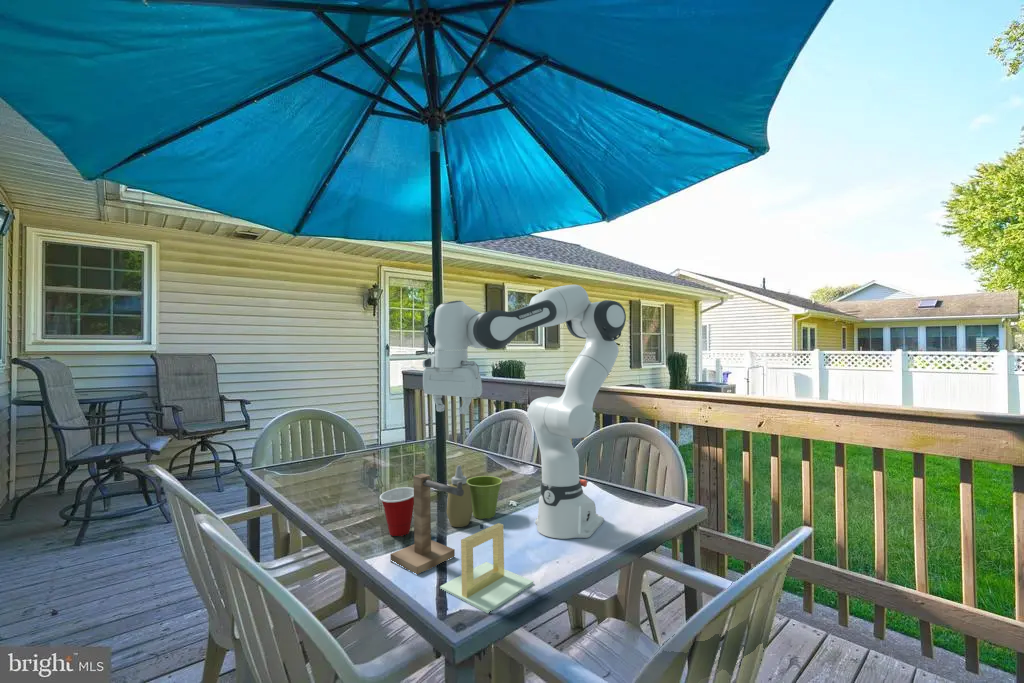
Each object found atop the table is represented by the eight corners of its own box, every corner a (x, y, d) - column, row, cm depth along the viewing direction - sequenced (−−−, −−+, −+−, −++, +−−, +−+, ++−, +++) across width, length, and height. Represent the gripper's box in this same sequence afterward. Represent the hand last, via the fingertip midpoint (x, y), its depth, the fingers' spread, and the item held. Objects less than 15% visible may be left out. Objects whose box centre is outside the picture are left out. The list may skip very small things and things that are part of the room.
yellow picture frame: (499, 573, 106) (498, 522, 106) (504, 576, 105) (503, 524, 105) (461, 595, 97) (461, 539, 97) (467, 598, 96) (466, 541, 96)
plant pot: (498, 523, 138) (497, 486, 138) (461, 521, 141) (461, 485, 141) (506, 510, 150) (505, 476, 150) (472, 508, 152) (471, 474, 152)
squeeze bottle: (460, 517, 144) (459, 461, 144) (478, 523, 139) (477, 464, 139) (441, 525, 138) (440, 466, 138) (459, 531, 133) (458, 470, 133)
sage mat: (486, 564, 112) (486, 561, 112) (533, 583, 102) (533, 581, 102) (439, 588, 101) (439, 586, 101) (487, 613, 91) (487, 610, 91)
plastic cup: (373, 533, 132) (372, 492, 132) (405, 523, 140) (404, 484, 140) (391, 544, 124) (391, 501, 125) (424, 533, 132) (424, 492, 132)
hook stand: (427, 545, 123) (426, 464, 124) (480, 568, 110) (479, 476, 110) (390, 561, 114) (389, 473, 115) (443, 588, 101) (441, 488, 101)
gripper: (487, 360, 116) (488, 414, 115) (436, 360, 129) (436, 408, 129) (469, 361, 111) (470, 417, 111) (418, 361, 124) (419, 411, 124)
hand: (451, 412), depth 120 cm, fingers open, 8 cm apart
